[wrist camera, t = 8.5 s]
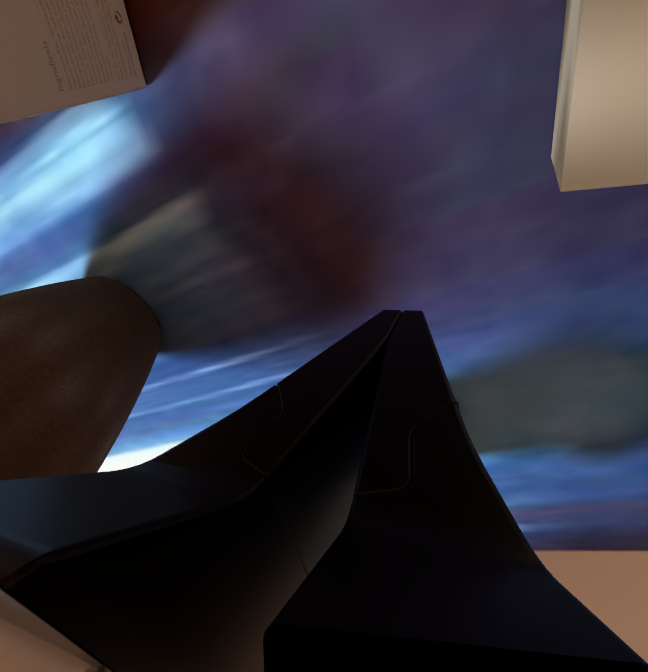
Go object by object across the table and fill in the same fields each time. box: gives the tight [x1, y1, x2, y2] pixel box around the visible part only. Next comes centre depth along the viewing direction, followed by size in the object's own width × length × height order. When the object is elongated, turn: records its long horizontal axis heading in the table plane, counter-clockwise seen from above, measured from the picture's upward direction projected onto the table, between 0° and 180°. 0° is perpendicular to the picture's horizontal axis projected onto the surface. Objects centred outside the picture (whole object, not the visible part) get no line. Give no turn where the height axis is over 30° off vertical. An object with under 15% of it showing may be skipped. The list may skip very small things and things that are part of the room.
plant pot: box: [0, 276, 162, 481], centre depth 26 cm, size 15×15×16 cm
